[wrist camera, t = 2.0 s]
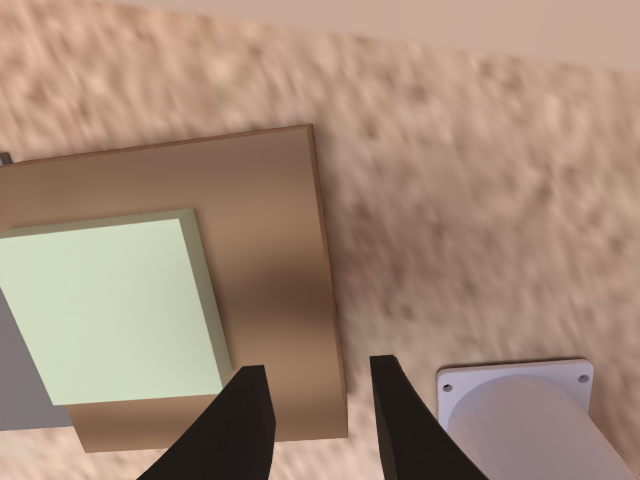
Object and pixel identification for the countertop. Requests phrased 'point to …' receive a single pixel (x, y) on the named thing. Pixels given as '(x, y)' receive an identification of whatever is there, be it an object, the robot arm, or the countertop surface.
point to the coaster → (116, 307)
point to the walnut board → (215, 268)
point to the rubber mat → (22, 377)
